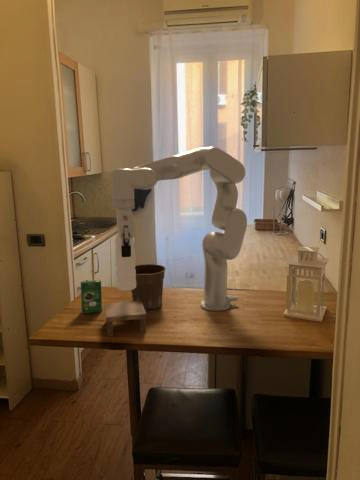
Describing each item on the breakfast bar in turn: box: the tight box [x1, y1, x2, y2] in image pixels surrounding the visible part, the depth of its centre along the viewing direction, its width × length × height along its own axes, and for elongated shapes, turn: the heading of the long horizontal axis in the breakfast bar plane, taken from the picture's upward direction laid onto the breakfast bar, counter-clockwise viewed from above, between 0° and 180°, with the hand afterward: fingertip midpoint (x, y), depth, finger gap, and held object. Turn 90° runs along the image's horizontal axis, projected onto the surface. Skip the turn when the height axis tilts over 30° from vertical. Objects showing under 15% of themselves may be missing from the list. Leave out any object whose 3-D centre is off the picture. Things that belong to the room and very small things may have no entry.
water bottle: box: [114, 232, 136, 292], centre depth 136 cm, size 7×7×25 cm
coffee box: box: [80, 279, 103, 315], centre depth 155 cm, size 8×3×13 cm, turn 110°
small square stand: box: [104, 300, 147, 337], centre depth 141 cm, size 14×14×7 cm
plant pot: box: [130, 263, 166, 311], centre depth 161 cm, size 16×16×16 cm
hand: (125, 253), depth 136 cm, fingers closed on water bottle, 6 cm apart
